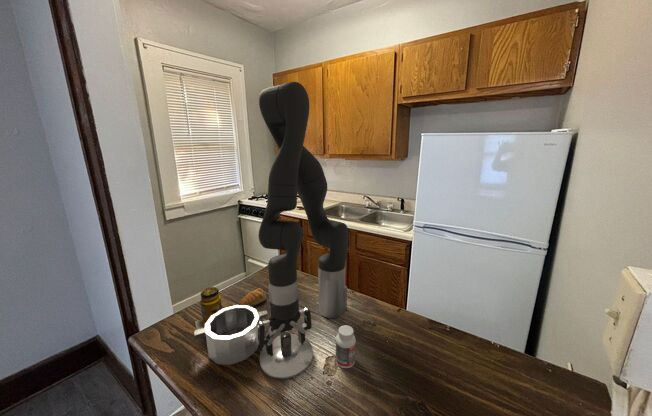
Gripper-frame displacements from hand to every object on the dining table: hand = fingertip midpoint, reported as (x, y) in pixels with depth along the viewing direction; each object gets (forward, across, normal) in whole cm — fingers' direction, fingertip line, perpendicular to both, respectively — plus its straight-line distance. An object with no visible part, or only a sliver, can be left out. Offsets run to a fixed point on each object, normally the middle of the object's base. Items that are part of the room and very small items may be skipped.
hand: (286, 348), depth 68 cm
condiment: (+4, +18, -25) cm, 31 cm away
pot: (+3, +12, -12) cm, 17 cm away
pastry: (+4, +2, -31) cm, 32 cm away
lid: (+4, 0, 0) cm, 4 cm away
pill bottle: (+4, -14, +8) cm, 16 cm away
